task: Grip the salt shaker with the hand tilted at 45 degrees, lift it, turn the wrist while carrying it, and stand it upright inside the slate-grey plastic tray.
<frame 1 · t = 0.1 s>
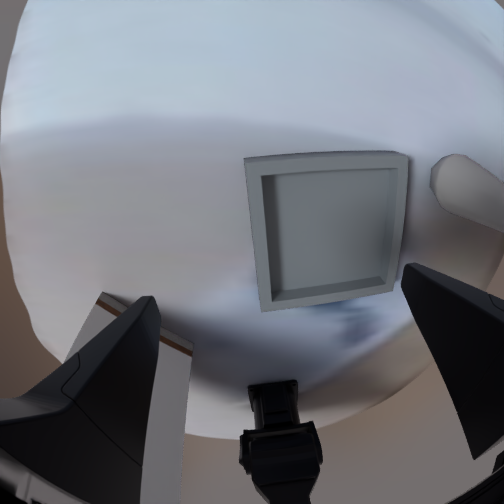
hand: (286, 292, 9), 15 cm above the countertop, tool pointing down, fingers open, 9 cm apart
display case: (130, 344, 30), on the countertop
tray: (326, 225, 24), on the countertop
salt shaker: (442, 177, 23), on the countertop
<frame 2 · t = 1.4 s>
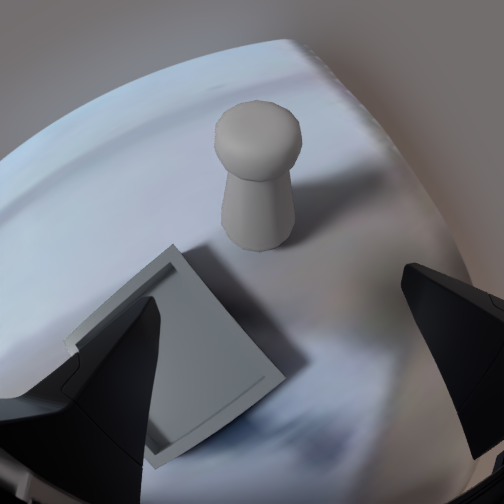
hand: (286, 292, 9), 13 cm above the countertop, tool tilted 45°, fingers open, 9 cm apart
tray: (168, 361, 21), on the countertop
salt shaker: (258, 227, 25), on the countertop
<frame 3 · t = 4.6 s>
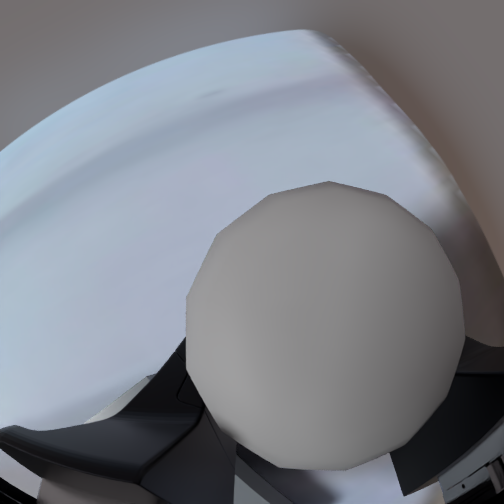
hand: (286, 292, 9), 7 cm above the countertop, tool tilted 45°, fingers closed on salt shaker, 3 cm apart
tray: (160, 497, 12), on the countertop
salt shaker: (278, 335, 15), on the countertop, touching gripper
when the fingers open (9 cm above the countertop, at t = 8.8 s): salt shaker drops 1 cm, resting on tray.
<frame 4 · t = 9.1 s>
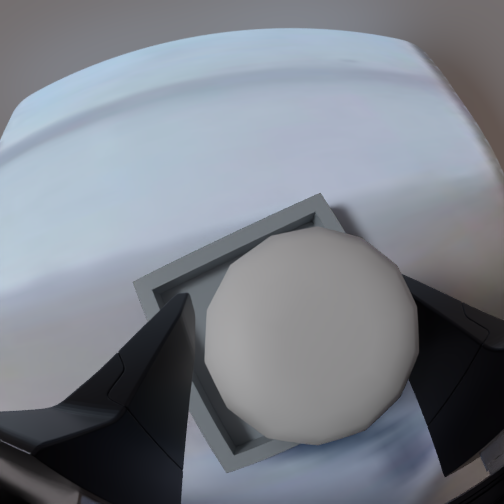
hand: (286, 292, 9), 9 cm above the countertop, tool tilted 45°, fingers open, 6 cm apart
tray: (275, 335, 18), on the countertop
salt shaker: (275, 339, 17), point 1 cm above the countertop, touching tray
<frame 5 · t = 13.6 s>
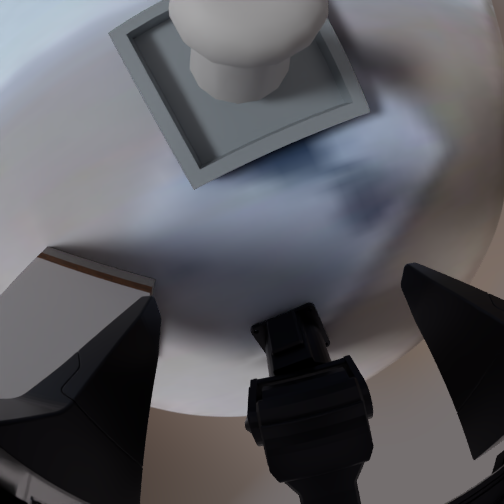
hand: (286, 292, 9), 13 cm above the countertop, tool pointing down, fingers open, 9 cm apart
display case: (97, 305, 25), on the countertop
tray: (239, 63, 16), on the countertop
salt shaker: (238, 65, 16), point 1 cm above the countertop, touching tray
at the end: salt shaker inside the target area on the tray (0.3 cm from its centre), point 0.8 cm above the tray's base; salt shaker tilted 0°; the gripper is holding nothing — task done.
